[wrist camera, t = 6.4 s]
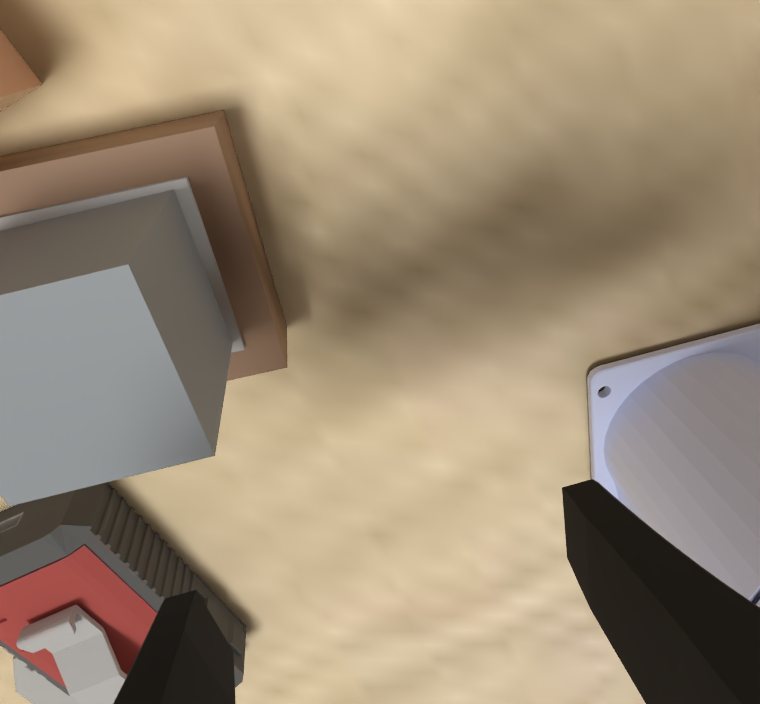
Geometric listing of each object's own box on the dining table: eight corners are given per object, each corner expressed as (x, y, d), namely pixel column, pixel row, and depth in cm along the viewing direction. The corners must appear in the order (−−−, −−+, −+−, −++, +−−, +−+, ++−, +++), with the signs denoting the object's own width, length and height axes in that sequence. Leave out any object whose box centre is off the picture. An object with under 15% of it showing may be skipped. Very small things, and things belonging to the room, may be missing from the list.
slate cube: (173, 189, 15) (127, 264, 11) (232, 342, 17) (215, 455, 13) (-5, 232, 15) (-124, 325, 11) (78, 380, 17) (8, 506, 13)
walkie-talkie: (-120, 531, 23) (181, 757, 33) (-201, 638, 19) (168, 856, 29) (82, 438, 22) (326, 699, 32) (40, 529, 18) (332, 793, 28)
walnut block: (286, 322, 21) (287, 370, 18) (84, 366, 20) (54, 423, 18) (224, 108, 17) (213, 127, 14) (-22, 159, 17) (-81, 189, 14)
